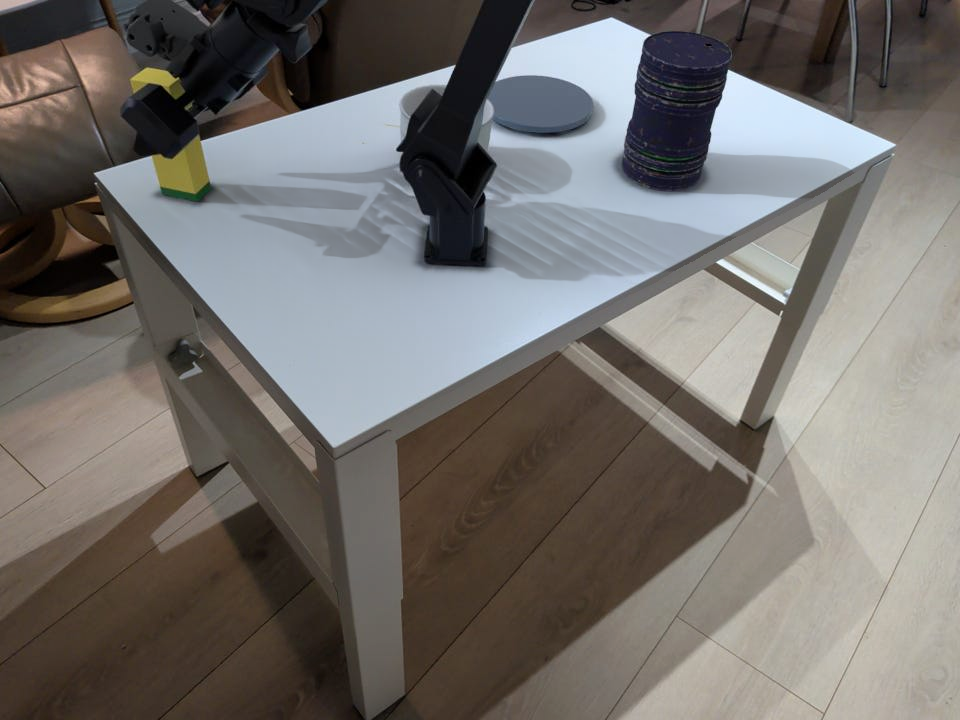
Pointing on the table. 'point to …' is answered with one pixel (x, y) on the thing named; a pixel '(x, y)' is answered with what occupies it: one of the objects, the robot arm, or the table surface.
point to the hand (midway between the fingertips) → (162, 132)
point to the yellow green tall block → (188, 167)
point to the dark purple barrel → (674, 109)
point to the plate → (539, 104)
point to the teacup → (418, 94)
